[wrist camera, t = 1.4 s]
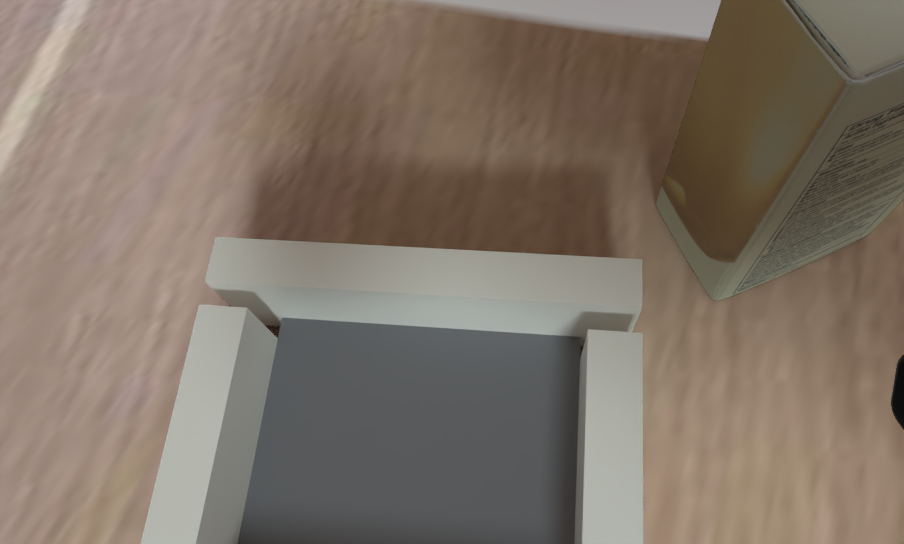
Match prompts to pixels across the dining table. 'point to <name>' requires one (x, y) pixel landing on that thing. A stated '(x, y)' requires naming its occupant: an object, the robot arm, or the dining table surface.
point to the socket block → (407, 400)
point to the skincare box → (787, 138)
